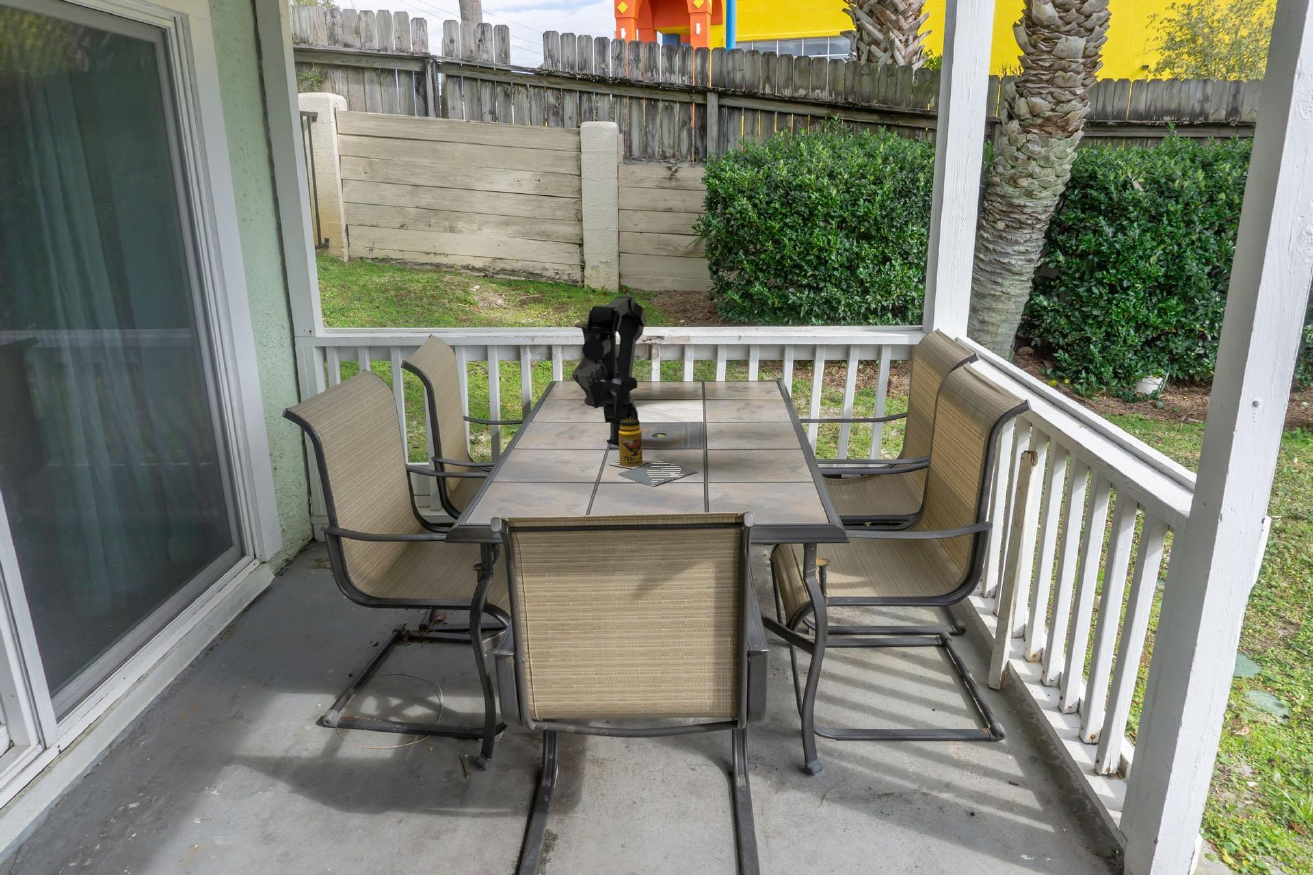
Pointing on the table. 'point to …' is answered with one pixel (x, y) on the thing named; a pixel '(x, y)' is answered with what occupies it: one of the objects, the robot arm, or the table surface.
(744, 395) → the table surface
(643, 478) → the mat
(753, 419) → the table surface
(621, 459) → the condiment
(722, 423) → the table surface
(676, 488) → the table surface
